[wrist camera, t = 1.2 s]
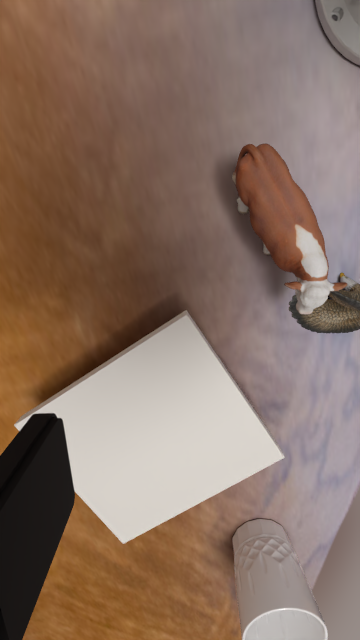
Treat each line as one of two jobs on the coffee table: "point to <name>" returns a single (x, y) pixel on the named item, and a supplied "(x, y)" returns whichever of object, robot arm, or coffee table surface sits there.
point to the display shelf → (158, 430)
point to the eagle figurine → (333, 311)
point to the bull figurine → (284, 223)
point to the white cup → (273, 586)
